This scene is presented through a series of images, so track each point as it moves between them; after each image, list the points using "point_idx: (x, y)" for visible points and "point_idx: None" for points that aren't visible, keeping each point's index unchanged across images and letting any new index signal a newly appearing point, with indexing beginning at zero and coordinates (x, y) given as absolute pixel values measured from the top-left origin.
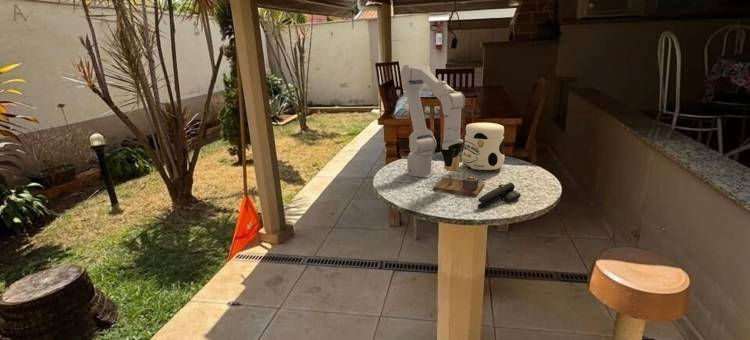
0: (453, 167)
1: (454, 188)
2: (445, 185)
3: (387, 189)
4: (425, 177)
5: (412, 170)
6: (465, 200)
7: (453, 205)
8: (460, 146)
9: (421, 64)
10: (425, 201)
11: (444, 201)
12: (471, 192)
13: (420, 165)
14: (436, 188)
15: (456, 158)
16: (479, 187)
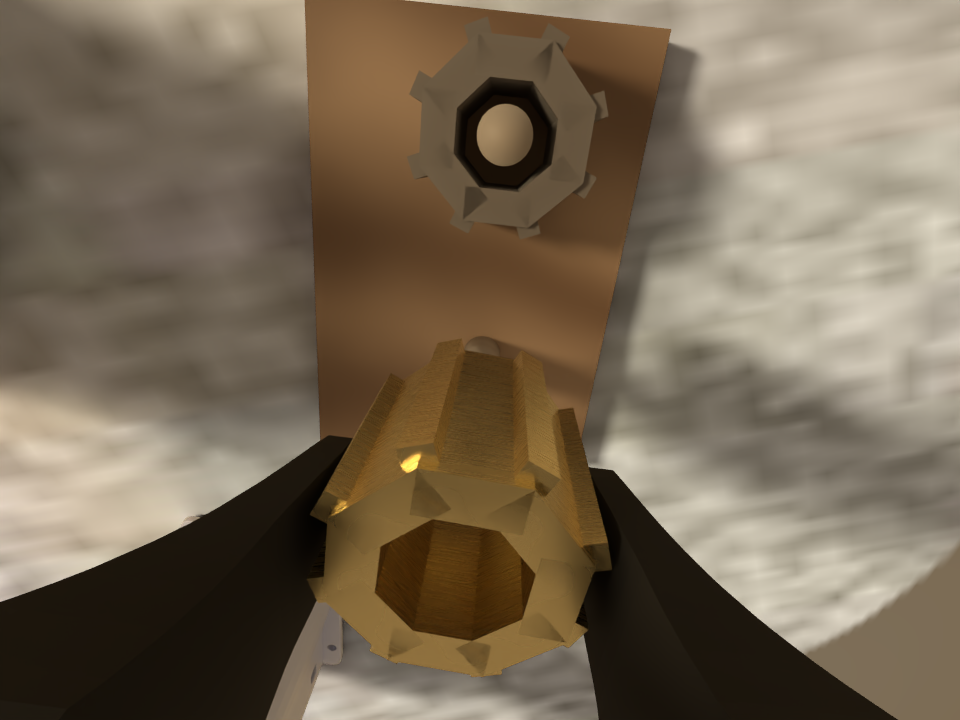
0: (554, 423)
1: (568, 298)
2: None
3: None
4: None
5: (311, 663)
6: (775, 143)
7: (912, 234)
8: (136, 660)
9: None
10: (828, 460)
11: (817, 327)
12: (647, 101)
13: (297, 672)
14: None
15: (555, 484)
16: (463, 30)
